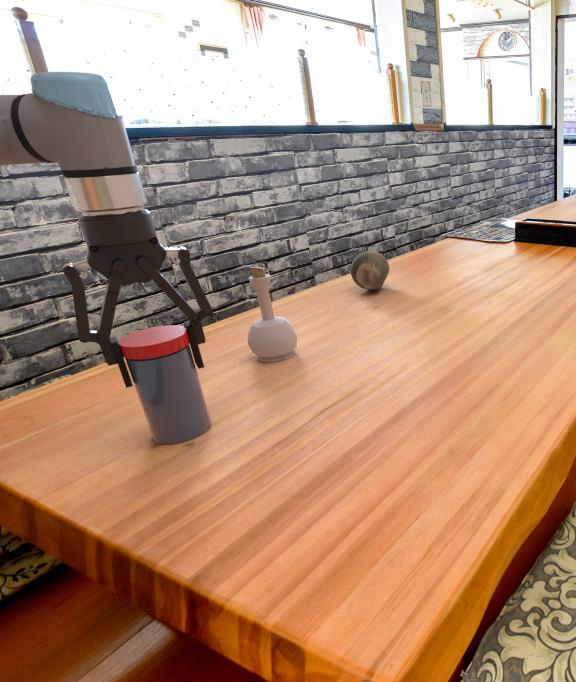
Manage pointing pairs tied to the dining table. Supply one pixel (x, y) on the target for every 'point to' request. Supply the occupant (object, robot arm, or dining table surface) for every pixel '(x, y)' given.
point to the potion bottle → (269, 325)
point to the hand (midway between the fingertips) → (165, 373)
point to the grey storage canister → (171, 396)
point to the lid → (154, 342)
